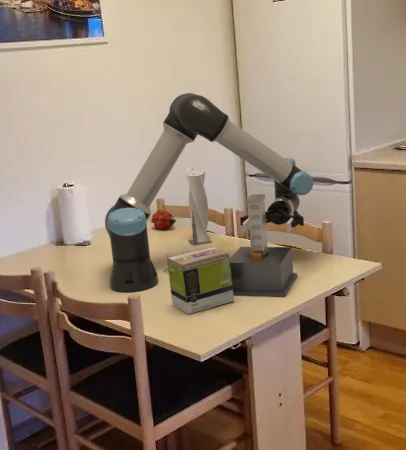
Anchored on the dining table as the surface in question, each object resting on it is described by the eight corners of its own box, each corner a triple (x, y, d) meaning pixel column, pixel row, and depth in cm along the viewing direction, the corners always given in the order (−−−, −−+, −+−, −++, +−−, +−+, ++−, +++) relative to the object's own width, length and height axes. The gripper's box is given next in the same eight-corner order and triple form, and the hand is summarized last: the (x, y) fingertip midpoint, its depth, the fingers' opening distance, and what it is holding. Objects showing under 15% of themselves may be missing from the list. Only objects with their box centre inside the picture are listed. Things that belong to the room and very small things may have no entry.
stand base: (284, 297, 198) (282, 259, 195) (224, 295, 204) (221, 258, 201) (297, 276, 214) (295, 241, 212) (240, 275, 220) (238, 240, 218)
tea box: (216, 293, 206) (212, 245, 202) (234, 302, 197) (230, 252, 194) (171, 305, 199) (166, 255, 196) (187, 315, 191) (182, 263, 187)
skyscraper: (187, 240, 266) (180, 167, 259) (207, 237, 268) (200, 165, 262) (194, 245, 258) (187, 170, 251) (214, 241, 261) (208, 167, 254)
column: (265, 282, 205) (260, 198, 199) (252, 282, 207) (246, 199, 200) (270, 276, 211) (265, 194, 205) (257, 275, 212) (251, 194, 206)
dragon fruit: (155, 229, 293) (174, 237, 285) (142, 222, 287) (161, 230, 278) (165, 211, 294) (183, 219, 285) (152, 203, 288) (170, 211, 279)
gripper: (318, 222, 228) (307, 240, 208) (244, 222, 236) (227, 239, 217) (317, 199, 226) (306, 215, 207) (243, 200, 234) (225, 216, 215)
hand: (265, 227), depth 212 cm, fingers open, 13 cm apart
